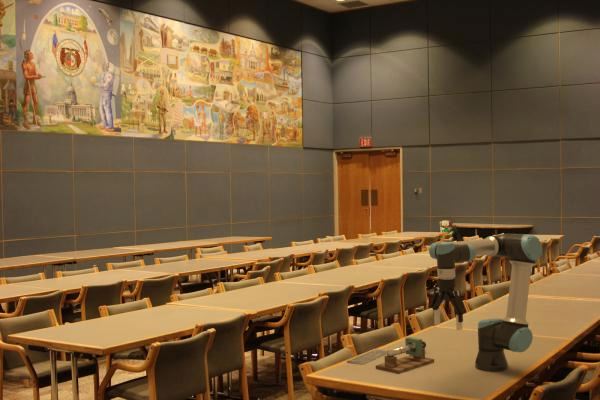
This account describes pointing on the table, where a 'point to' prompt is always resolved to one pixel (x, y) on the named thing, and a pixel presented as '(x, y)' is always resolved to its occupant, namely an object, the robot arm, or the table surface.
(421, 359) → the pipe stand
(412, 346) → the steel pipe
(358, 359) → the keyboard
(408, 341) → the collar
